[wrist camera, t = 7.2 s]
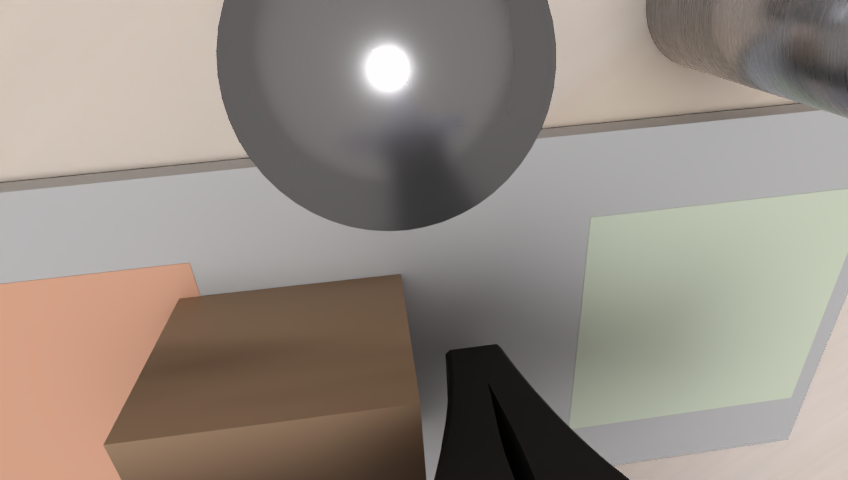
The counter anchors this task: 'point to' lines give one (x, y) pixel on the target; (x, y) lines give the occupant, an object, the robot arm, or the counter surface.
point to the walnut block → (278, 389)
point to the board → (465, 282)
